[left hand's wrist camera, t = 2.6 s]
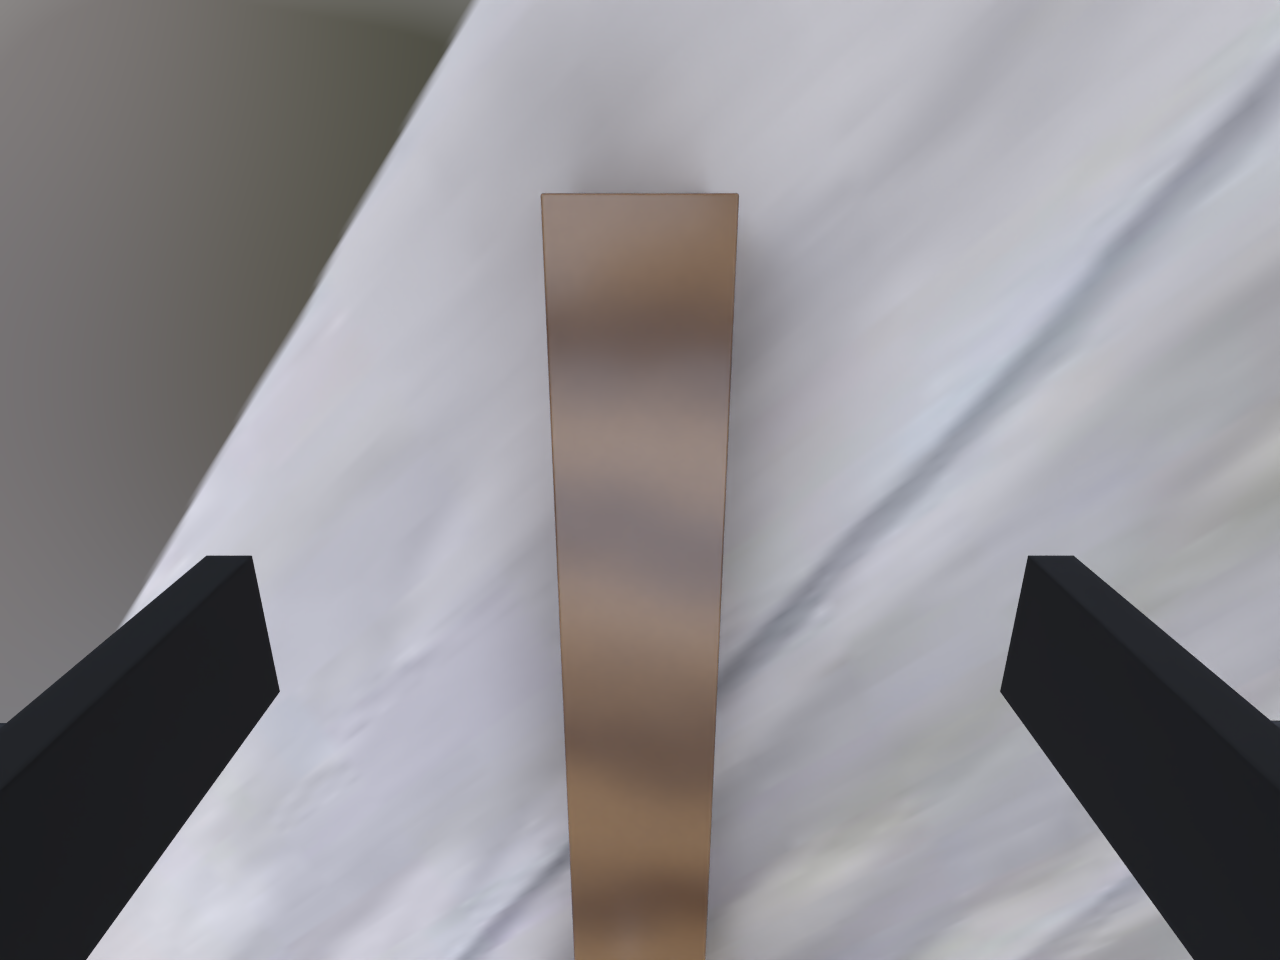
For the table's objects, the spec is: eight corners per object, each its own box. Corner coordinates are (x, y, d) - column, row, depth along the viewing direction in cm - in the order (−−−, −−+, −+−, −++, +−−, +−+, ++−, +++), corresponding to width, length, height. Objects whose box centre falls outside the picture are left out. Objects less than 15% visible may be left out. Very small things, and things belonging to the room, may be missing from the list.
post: (569, 193, 27) (540, 193, 19) (709, 193, 27) (739, 193, 19) (600, 1184, 49) (592, 1379, 41) (679, 1184, 49) (687, 1379, 41)
